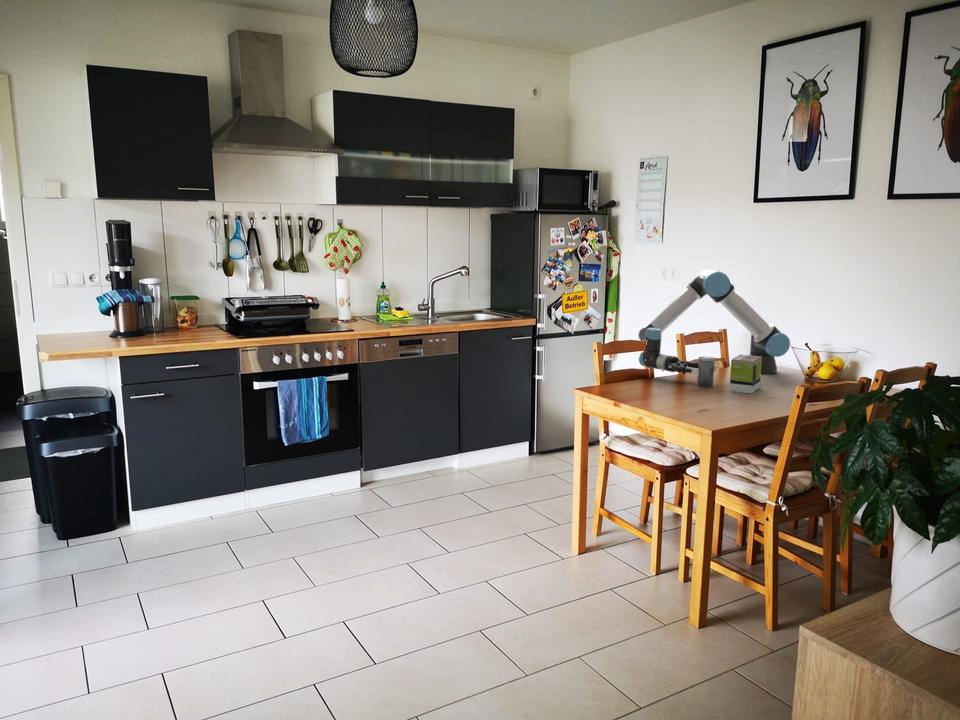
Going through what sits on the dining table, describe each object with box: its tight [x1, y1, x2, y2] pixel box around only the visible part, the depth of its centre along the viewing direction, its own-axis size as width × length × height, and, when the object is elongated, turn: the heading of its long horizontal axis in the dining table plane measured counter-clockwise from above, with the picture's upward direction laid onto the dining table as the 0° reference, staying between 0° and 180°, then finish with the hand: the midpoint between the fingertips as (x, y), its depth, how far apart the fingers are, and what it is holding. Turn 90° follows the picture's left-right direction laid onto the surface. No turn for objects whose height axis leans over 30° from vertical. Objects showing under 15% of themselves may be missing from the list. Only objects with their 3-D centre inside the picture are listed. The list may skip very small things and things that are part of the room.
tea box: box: [729, 354, 762, 394], centre depth 321 cm, size 15×10×15 cm
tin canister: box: [696, 356, 716, 388], centre depth 328 cm, size 7×7×13 cm
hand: (707, 370), depth 327 cm, fingers open, 13 cm apart
